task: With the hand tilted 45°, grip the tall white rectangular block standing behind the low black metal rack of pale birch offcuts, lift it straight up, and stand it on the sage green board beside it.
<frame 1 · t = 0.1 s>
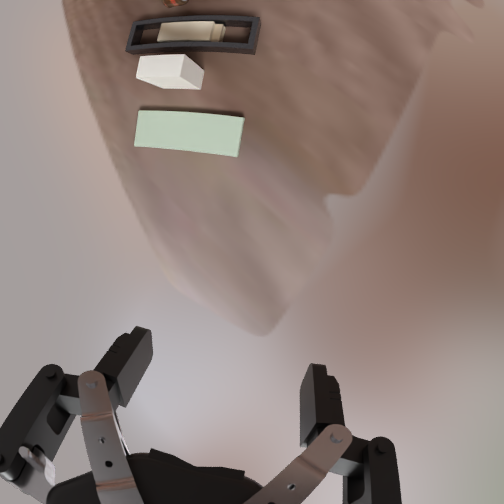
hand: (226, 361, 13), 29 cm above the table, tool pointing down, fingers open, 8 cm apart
offcut stack: (193, 37, 31), resting in rack
rack: (192, 36, 31), on the table
white rectangular block: (183, 79, 33), on the table
board: (187, 131, 36), on the table
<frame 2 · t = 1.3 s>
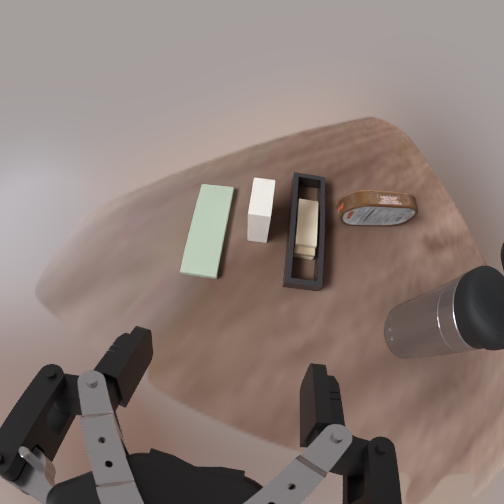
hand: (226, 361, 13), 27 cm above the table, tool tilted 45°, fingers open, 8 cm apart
offcut stack: (303, 232, 45), resting in rack
tin: (369, 221, 46), on the table
rack: (304, 230, 45), on the table
white rectangular block: (259, 224, 45), on the table
board: (208, 229, 45), on the table
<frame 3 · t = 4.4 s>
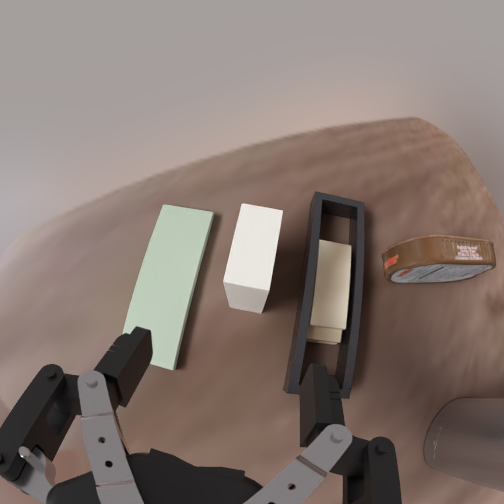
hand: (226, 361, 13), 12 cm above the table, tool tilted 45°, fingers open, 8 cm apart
offcut stack: (323, 295, 27), resting in rack
tin: (423, 275, 28), on the table
rack: (327, 293, 26), on the table
white rectangular block: (251, 280, 27), on the table
board: (167, 283, 26), on the table
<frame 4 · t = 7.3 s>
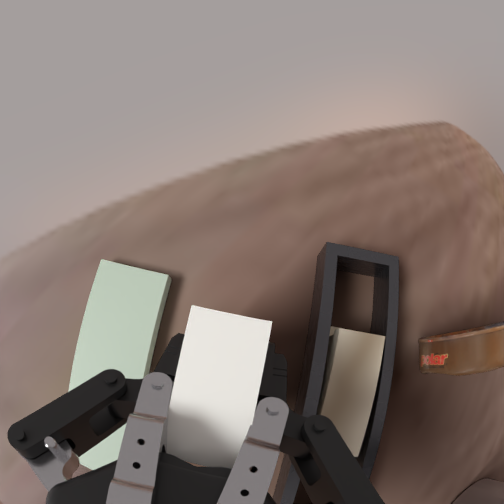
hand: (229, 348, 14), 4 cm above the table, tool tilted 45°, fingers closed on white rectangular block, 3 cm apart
offcut stack: (333, 397, 17), resting in rack
tin: (461, 348, 18), on the table
rack: (336, 395, 16), on the table
white rectangular block: (226, 379, 17), on the table, touching gripper
board: (110, 375, 16), on the table
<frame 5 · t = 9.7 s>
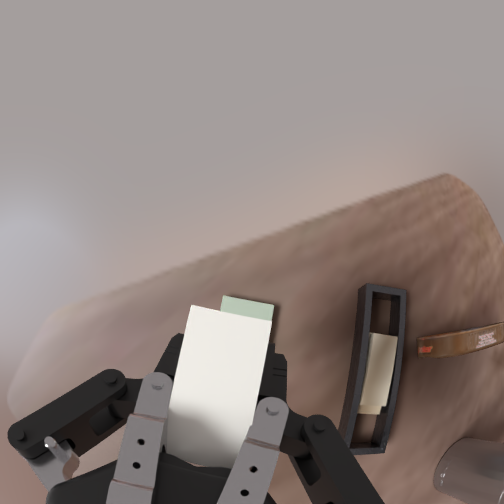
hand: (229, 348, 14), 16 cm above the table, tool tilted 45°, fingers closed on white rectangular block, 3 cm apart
offcut stack: (368, 373, 28), resting in rack
tin: (445, 344, 29), on the table
rack: (370, 371, 28), on the table
white rectangular block: (227, 379, 17), point 12 cm above the table, touching gripper
board: (234, 372, 28), on the table
when the fingers open (6 cm above the table, at t = 12.3 s): white rectangular block stays where it is, resting on board.
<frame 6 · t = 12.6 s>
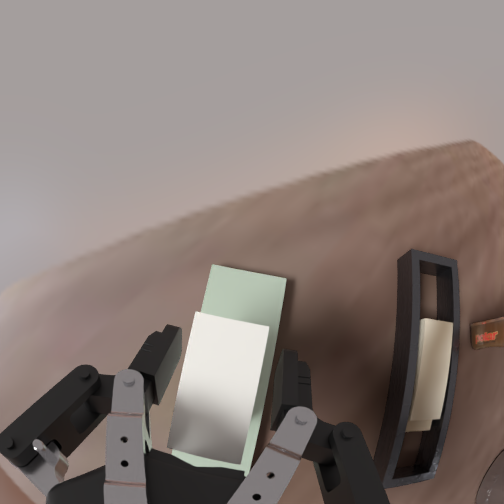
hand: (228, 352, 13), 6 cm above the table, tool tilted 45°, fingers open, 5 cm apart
offcut stack: (414, 375, 19), resting in rack
tin: (495, 332, 20), on the table
rack: (417, 371, 19), on the table
white rectangular block: (228, 378, 17), point 1 cm above the table, touching board
board: (228, 378, 18), on the table
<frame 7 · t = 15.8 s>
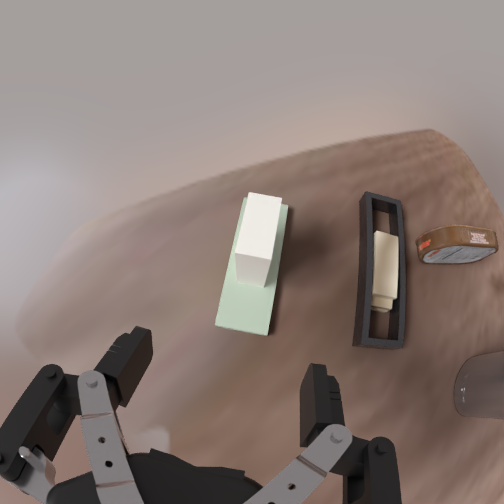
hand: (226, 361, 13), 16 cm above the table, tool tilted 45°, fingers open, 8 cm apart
offcut stack: (376, 274, 33), resting in rack
tin: (443, 258, 34), on the table
rack: (378, 270, 32), on the table
white rectangular block: (255, 259, 31), point 1 cm above the table, touching board
board: (254, 263, 32), on the table
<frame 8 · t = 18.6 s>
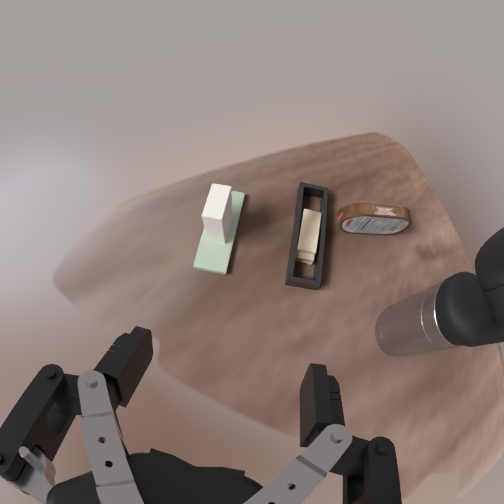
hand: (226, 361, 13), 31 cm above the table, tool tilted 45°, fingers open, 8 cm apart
offcut stack: (306, 239, 50), resting in rack
tin: (366, 230, 51), on the table
rack: (307, 235, 50), on the table
white rectangular block: (220, 227, 49), point 1 cm above the table, touching board
board: (220, 229, 50), on the table
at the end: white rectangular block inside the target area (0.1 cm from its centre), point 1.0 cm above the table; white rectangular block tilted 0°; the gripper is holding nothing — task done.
